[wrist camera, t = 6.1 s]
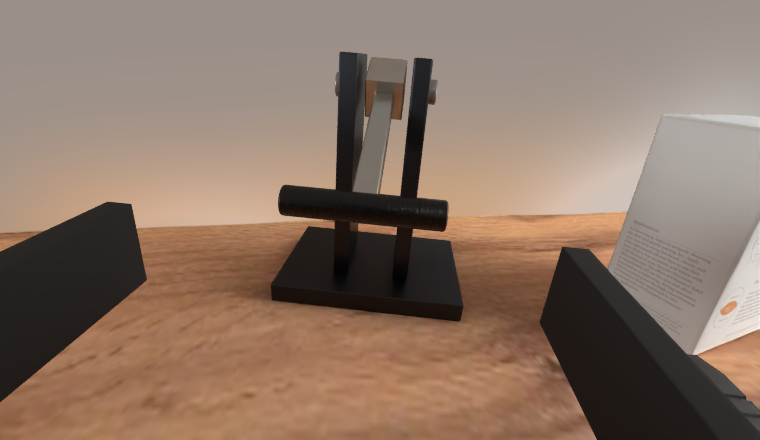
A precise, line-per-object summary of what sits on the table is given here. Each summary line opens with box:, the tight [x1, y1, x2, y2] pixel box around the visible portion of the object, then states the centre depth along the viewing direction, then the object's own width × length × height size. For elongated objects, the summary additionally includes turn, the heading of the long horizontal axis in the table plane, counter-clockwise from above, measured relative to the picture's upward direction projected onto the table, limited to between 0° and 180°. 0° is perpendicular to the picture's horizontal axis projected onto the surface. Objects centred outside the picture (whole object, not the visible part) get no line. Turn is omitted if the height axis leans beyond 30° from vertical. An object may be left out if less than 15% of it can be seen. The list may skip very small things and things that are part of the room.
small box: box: [608, 114, 760, 355], centre depth 23 cm, size 8×6×13 cm
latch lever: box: [278, 57, 448, 232], centre depth 19 cm, size 12×7×2 cm, turn 175°
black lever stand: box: [271, 52, 463, 321], centre depth 25 cm, size 9×12×15 cm
